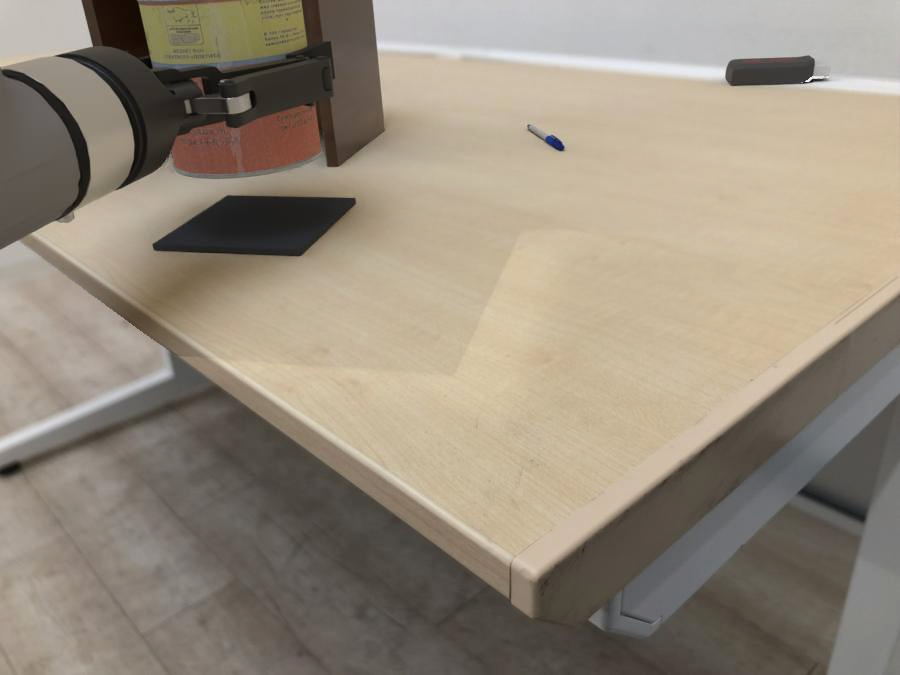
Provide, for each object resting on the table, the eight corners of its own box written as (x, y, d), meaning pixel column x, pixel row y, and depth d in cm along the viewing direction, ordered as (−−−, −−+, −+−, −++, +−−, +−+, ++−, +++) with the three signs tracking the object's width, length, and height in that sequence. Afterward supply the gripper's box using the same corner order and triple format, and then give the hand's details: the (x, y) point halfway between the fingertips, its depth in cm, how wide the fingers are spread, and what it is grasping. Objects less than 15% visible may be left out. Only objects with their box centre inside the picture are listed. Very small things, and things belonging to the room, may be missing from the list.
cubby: (121, 164, 85) (63, -72, 74) (194, 130, 97) (152, -75, 87) (338, 166, 79) (306, -89, 69) (385, 130, 92) (364, -90, 81)
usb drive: (724, 78, 107) (727, 56, 106) (819, 75, 105) (823, 53, 104) (730, 85, 103) (733, 63, 102) (830, 82, 101) (833, 59, 100)
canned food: (278, 133, 69) (254, -20, 63) (350, 154, 61) (330, -18, 55) (150, 161, 63) (112, -5, 57) (212, 188, 55) (174, -1, 49)
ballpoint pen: (567, 151, 79) (567, 141, 79) (559, 152, 79) (559, 142, 79) (531, 129, 88) (531, 119, 88) (523, 129, 88) (523, 120, 88)
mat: (153, 250, 61) (151, 243, 60) (228, 200, 71) (227, 194, 71) (300, 255, 58) (299, 249, 57) (356, 203, 68) (355, 197, 68)
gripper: (-74, 192, 48) (136, 112, 67) (288, 198, 42) (406, 109, 61) (-122, 60, 44) (113, 15, 63) (265, 49, 39) (397, 3, 58)
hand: (257, 61), depth 62 cm, fingers closed on canned food, 11 cm apart
